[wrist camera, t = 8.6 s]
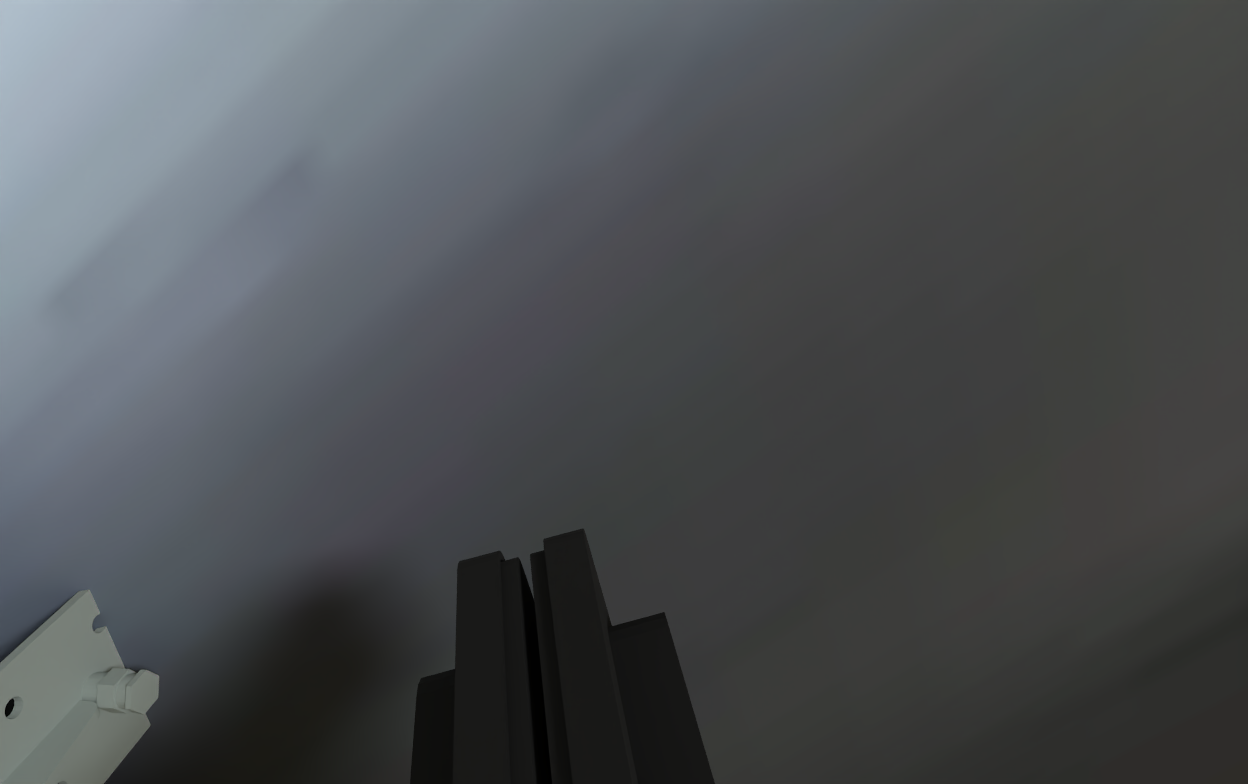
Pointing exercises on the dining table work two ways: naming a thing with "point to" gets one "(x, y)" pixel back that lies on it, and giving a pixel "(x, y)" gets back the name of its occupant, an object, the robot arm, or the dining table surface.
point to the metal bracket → (70, 702)
